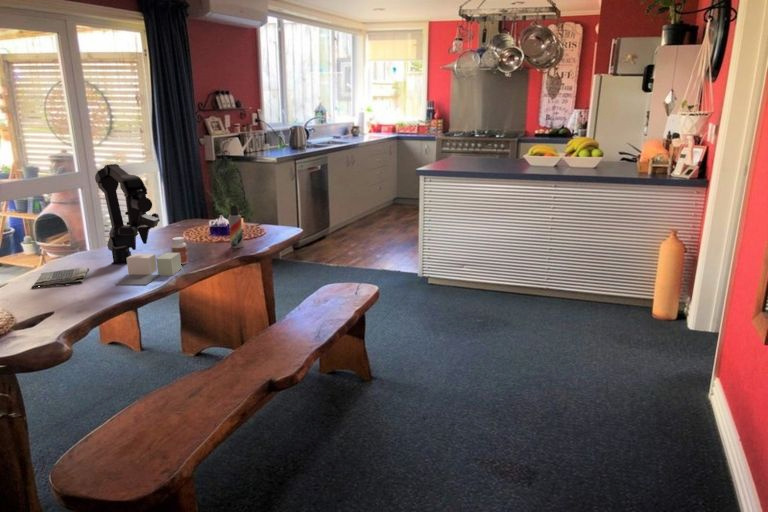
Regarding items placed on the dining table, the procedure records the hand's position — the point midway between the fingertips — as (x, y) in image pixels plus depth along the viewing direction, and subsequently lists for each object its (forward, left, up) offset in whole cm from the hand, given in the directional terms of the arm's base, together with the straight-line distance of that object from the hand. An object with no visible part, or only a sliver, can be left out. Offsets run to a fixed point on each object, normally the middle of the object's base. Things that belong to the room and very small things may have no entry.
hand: (139, 246), depth 226 cm
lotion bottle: (+26, +42, -11) cm, 51 cm away
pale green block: (+11, +1, -11) cm, 16 cm away
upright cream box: (0, 0, -11) cm, 11 cm away
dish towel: (-28, -10, -12) cm, 32 cm away
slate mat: (+3, -10, -11) cm, 15 cm away
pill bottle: (+10, +14, -11) cm, 20 cm away
